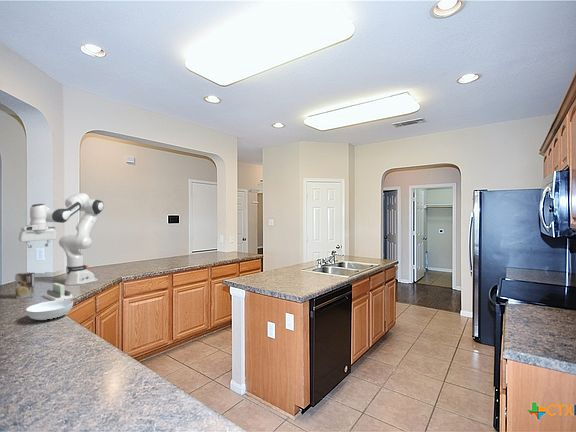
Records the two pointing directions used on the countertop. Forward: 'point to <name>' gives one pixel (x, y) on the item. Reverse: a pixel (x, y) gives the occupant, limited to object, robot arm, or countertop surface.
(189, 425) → the countertop surface
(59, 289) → the door panel
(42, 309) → the serving bowl
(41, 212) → the robot arm
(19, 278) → the coffee box
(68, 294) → the floor track
